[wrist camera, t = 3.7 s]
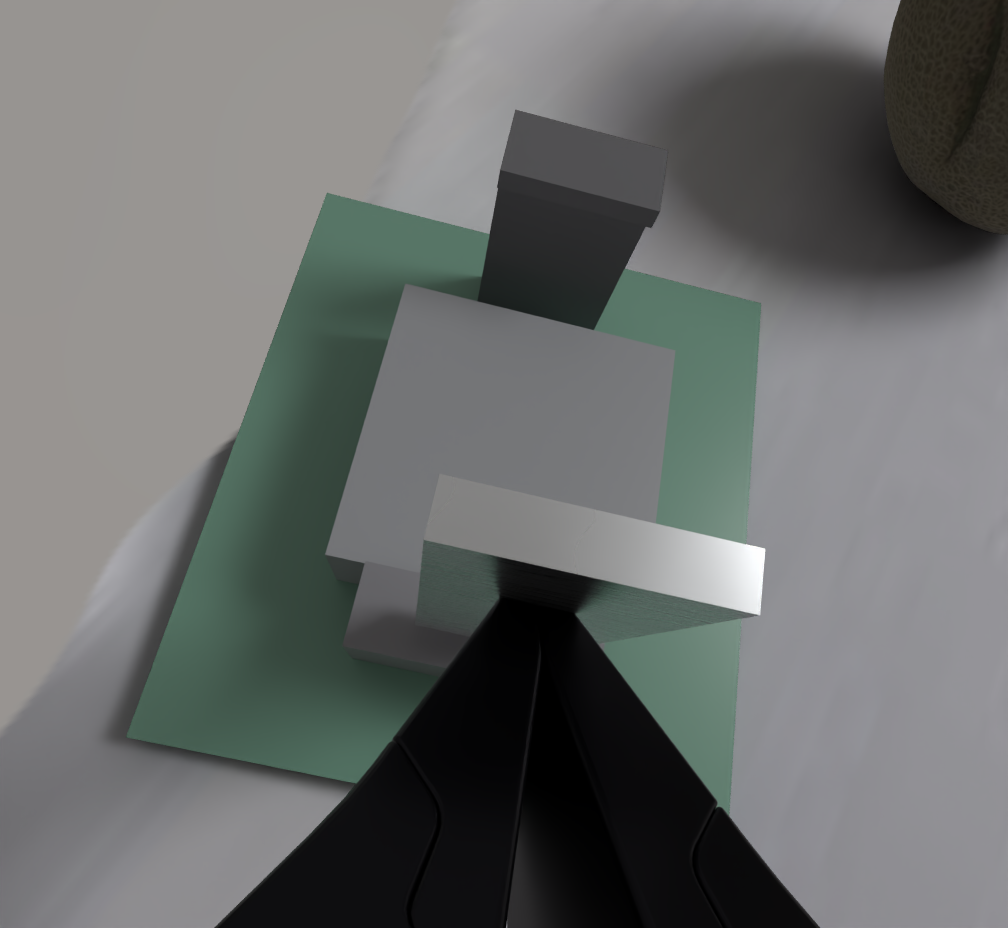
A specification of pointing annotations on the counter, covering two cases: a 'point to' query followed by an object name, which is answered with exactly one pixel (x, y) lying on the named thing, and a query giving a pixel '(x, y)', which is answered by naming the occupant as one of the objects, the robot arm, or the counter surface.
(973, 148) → the cantaloupe
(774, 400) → the counter surface
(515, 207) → the board
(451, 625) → the light gray flat bar
